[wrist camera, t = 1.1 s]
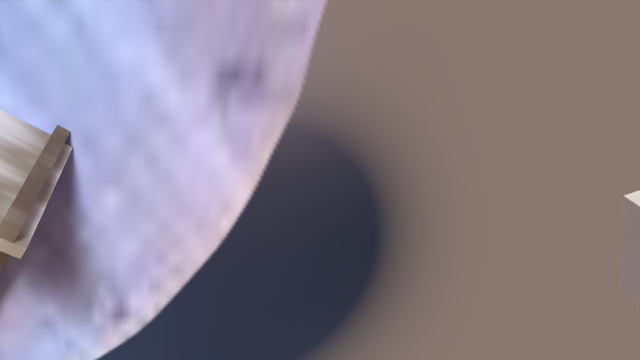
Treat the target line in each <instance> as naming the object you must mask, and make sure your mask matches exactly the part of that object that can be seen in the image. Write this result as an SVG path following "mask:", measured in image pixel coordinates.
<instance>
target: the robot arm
mask: <svg viewBox="0 0 640 360" xmlns="http://www.w3.org/2000/svg"><path fill="white" fill-rule="evenodd" d="M620 290H621V291H623V292H624V293H625V294H626V295H627V296H628V297H629V298H630V299H631V300H633V301H634V302H635V303H636V304H637V305H638V306H639V307H640V191H637V192H634V193H631V194H628V195H625V196H624V202H623V226H622V247H621V270H620Z"/></svg>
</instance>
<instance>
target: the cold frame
mask: <svg viewBox="0 0 640 360" xmlns="http://www.w3.org/2000/svg"><path fill="white" fill-rule="evenodd" d="M69 133H70V131H68V130H66V129H64V128H62V127H60V126H58V125H57V127H56V128H55V130H54V132H53V133H52V135H49V134H47V133H45V132H43V131H42V130H40V129H38V128H36V127H34V126H32V125H30V124H28V123H26V122H24V121H22V120H20V119H18V118H16V117H14V116H12V115H10V114H8V113H6V112H5V111H3V110H1V109H0V269H1V268H2V266H3V264H4V263H5V261H6V260H7V258H8V256H9V255H11V256H14V257H16V258H18V259H21V257H22V256H23V254H24V252H25V251H26V249H27V247H28V245H29V243H30V241H31V238H32V236H33V234H34V232H35V230H36V227H37V225H38V223H39V221H40V219H41V216H42V214H43V212H44V210H45V208H46V205H47V203H48V201H49V199H50V197H51V194H52V192H53V190H54V188H55V186H56V183H57V181H58V179H59V177H60V175H61V172H62V170H63V168H64V166H65V164H66V161H67V159H68V157H69V155H70V153H71V151H72V148H73V146H71V145H69V144H67V143H65V141H66V139H67V137H68V135H69Z"/></svg>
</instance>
